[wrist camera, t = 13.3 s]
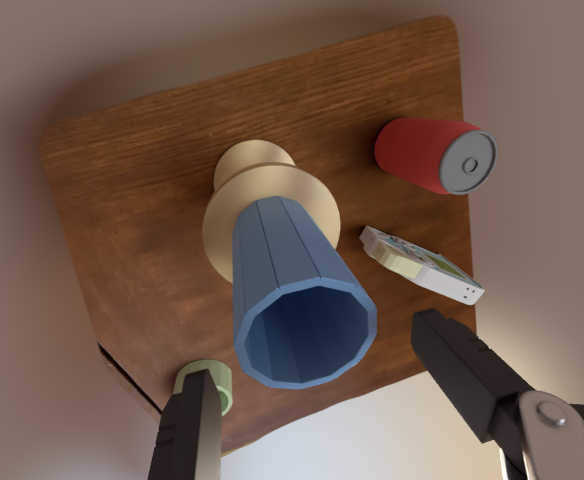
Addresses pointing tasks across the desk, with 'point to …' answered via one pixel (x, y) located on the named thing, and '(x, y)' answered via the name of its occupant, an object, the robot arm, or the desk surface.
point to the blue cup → (294, 299)
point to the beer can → (437, 154)
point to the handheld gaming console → (421, 266)
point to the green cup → (218, 373)
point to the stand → (260, 196)
